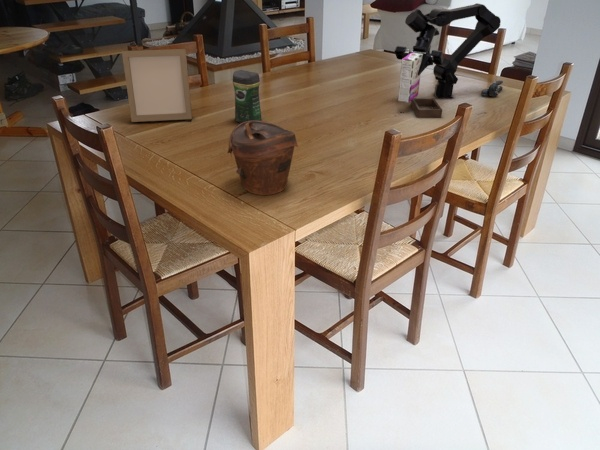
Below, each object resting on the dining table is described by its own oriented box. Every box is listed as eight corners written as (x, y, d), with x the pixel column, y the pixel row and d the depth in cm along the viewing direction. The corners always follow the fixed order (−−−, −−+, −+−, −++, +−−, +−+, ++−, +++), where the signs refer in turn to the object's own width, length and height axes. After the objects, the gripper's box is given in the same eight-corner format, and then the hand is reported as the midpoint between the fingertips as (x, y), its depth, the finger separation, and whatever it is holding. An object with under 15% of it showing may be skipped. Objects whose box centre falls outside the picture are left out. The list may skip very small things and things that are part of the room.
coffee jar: (265, 120, 188) (263, 71, 178) (251, 127, 183) (249, 75, 173) (245, 115, 193) (242, 66, 183) (231, 121, 187) (228, 71, 178)
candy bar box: (406, 93, 204) (411, 51, 195) (418, 95, 202) (423, 53, 193) (396, 101, 196) (401, 58, 187) (408, 103, 194) (414, 60, 185)
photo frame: (192, 121, 187) (184, 52, 174) (132, 124, 184) (119, 54, 171) (192, 108, 200) (185, 43, 187) (136, 111, 197) (125, 45, 184)
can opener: (494, 99, 211) (497, 86, 208) (478, 96, 215) (481, 83, 212) (508, 90, 223) (511, 77, 220) (493, 87, 227) (495, 74, 224)
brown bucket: (243, 167, 153) (239, 111, 144) (305, 176, 149) (306, 118, 139) (218, 194, 139) (213, 132, 129) (287, 204, 134) (286, 141, 125)
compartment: (432, 105, 204) (433, 98, 202) (441, 117, 192) (442, 109, 190) (410, 105, 204) (411, 98, 202) (417, 117, 192) (418, 109, 190)
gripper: (450, 54, 200) (437, 88, 198) (406, 48, 209) (393, 81, 206) (447, 37, 190) (434, 73, 188) (401, 32, 199) (387, 66, 197)
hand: (411, 74), depth 195 cm, fingers closed on candy bar box, 5 cm apart
